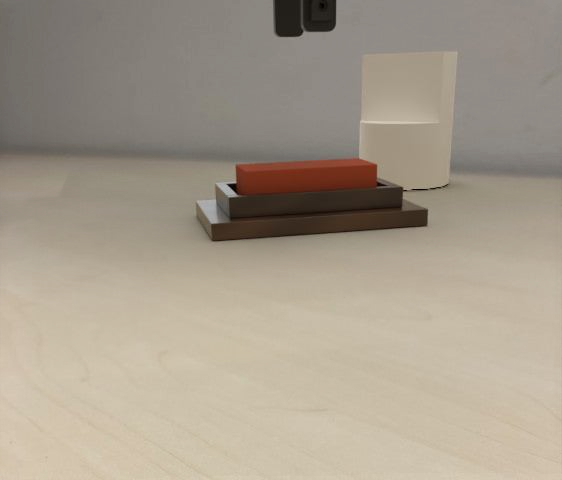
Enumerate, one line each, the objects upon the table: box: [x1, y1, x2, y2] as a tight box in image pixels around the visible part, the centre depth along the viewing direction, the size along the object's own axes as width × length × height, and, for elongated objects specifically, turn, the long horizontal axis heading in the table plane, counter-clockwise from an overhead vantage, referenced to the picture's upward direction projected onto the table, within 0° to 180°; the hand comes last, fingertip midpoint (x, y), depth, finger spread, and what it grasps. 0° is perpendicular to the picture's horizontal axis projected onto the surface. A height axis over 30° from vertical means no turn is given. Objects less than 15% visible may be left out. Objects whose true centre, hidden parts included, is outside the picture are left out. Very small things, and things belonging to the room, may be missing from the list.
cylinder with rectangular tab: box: [358, 50, 459, 190], centre depth 69 cm, size 9×9×12 cm
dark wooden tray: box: [195, 177, 429, 242], centre depth 54 cm, size 16×10×3 cm, turn 102°
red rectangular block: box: [235, 157, 377, 195], centre depth 54 cm, size 10×4×3 cm, turn 103°
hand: (302, 34), depth 50 cm, fingers open, 8 cm apart
